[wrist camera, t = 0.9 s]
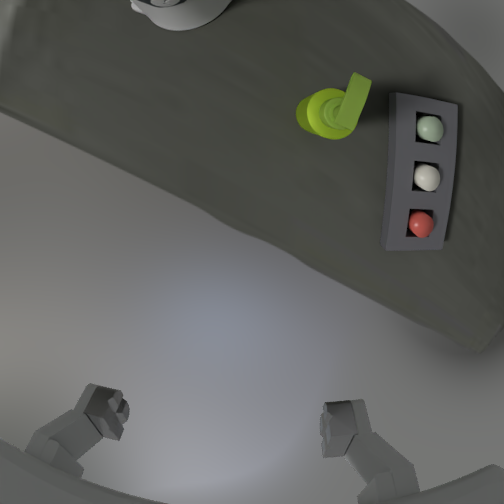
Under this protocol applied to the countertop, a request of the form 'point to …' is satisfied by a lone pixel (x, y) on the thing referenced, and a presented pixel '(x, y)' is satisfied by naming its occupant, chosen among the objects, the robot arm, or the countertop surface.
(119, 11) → the countertop surface
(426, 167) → the button cream
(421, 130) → the button sage
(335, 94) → the soap dispenser
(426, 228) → the button red
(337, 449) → the robot arm
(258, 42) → the countertop surface
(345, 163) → the countertop surface
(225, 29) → the countertop surface
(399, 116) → the console
